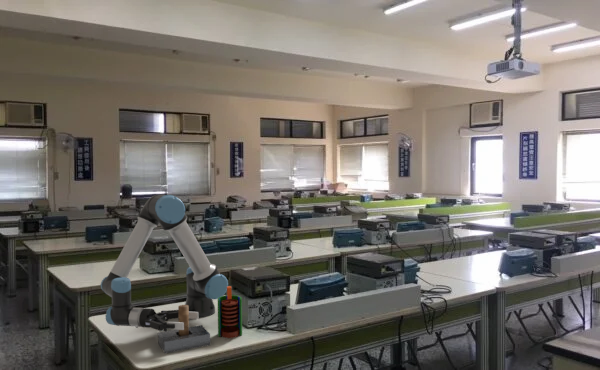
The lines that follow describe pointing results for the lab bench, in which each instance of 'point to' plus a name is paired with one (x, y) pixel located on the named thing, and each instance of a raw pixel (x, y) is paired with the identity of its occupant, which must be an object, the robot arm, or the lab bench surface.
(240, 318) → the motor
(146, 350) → the lab bench surface
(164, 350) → the hole block
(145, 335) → the lab bench surface
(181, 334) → the pin
